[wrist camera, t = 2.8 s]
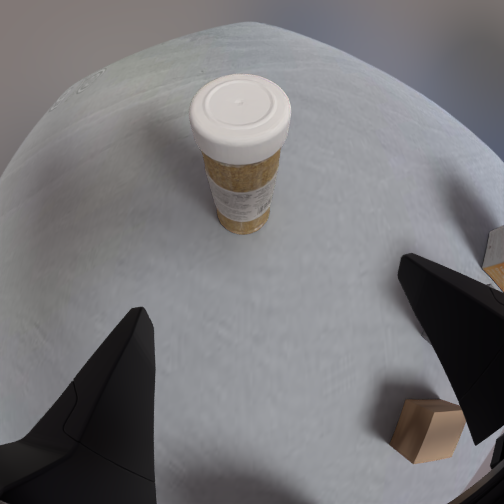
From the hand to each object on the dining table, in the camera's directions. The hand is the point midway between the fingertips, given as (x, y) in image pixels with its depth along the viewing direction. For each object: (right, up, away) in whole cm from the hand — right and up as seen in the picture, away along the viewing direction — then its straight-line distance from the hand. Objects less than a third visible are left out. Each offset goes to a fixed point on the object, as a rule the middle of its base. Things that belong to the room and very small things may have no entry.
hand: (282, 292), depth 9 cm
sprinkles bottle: (-2, +5, +15) cm, 16 cm away
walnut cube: (+15, -16, +11) cm, 24 cm away
